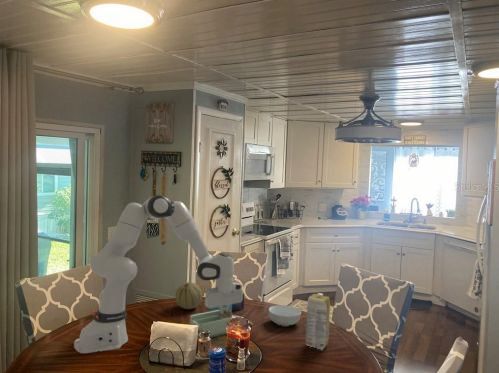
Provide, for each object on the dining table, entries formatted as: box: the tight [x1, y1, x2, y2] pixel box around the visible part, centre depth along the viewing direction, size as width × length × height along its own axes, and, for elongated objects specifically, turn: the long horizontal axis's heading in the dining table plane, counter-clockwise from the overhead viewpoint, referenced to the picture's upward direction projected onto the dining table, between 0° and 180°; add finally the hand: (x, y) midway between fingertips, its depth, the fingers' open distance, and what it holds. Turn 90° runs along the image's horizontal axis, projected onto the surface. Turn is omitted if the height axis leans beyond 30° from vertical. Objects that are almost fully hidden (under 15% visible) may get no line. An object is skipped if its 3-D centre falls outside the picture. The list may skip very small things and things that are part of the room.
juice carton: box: [305, 292, 331, 351], centre depth 181 cm, size 9×8×24 cm
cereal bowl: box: [268, 304, 302, 327], centre depth 206 cm, size 17×17×7 cm
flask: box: [232, 292, 245, 311], centre depth 225 cm, size 9×3×11 cm, turn 91°
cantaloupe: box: [175, 281, 203, 310], centre depth 222 cm, size 15×15×15 cm
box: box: [189, 310, 232, 338], centre depth 193 cm, size 16×13×7 cm
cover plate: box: [219, 308, 254, 327], centre depth 202 cm, size 15×9×4 cm, turn 125°
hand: (223, 313), depth 197 cm, fingers closed
